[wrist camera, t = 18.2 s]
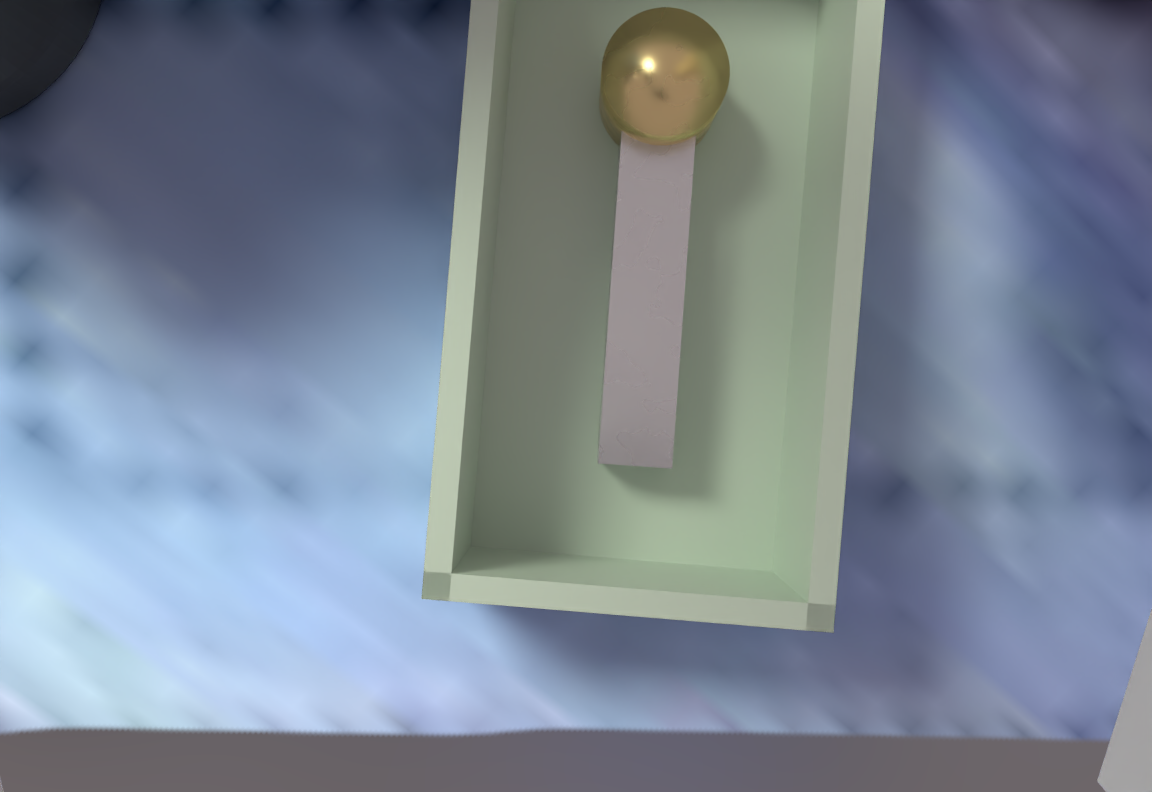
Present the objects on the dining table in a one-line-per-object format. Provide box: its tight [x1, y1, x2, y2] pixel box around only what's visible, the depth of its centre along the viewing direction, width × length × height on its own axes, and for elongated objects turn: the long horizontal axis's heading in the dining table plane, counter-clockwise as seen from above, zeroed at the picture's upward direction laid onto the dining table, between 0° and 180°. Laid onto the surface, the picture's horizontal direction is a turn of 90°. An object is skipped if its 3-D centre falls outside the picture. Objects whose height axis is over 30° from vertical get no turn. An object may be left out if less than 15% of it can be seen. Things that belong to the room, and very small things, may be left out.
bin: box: [422, 0, 885, 633], centre depth 39 cm, size 29×15×7 cm, turn 175°
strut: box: [597, 7, 730, 469], centre depth 40 cm, size 18×5×4 cm, turn 176°
